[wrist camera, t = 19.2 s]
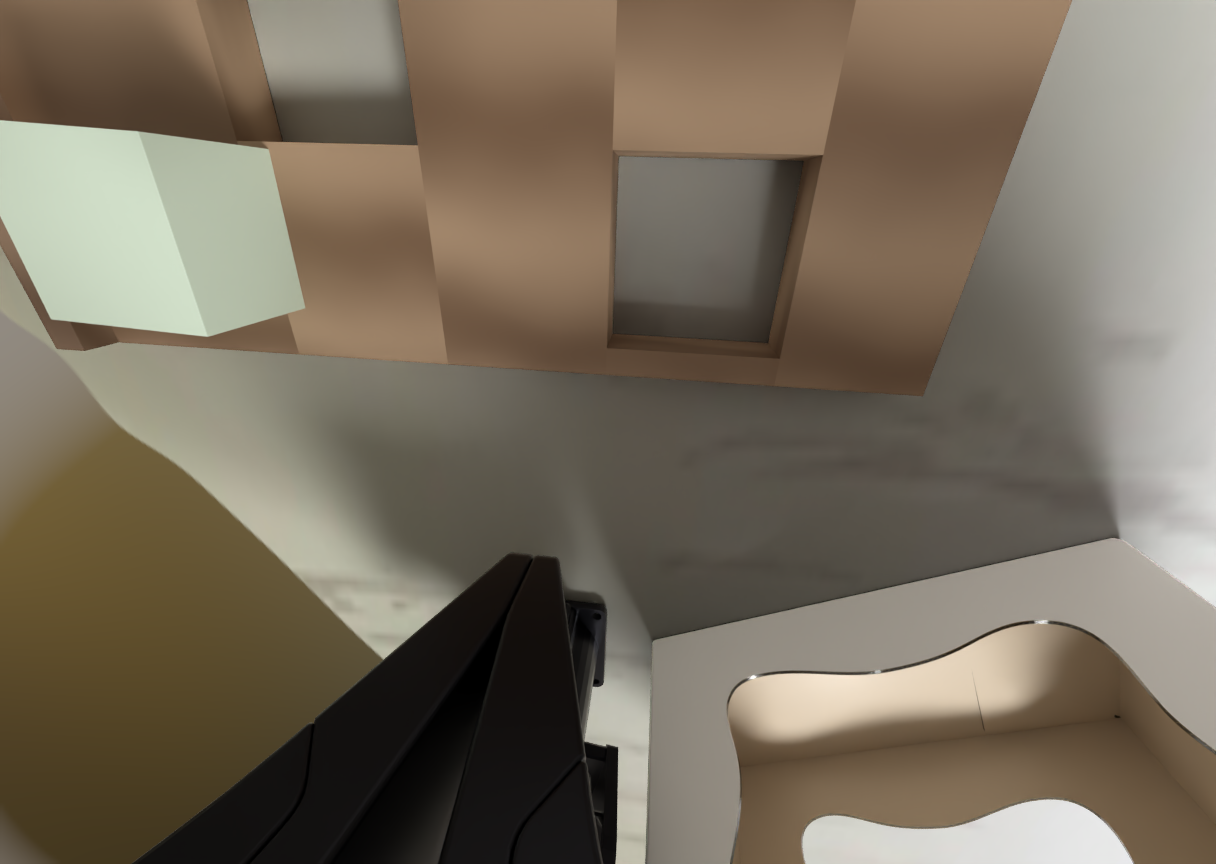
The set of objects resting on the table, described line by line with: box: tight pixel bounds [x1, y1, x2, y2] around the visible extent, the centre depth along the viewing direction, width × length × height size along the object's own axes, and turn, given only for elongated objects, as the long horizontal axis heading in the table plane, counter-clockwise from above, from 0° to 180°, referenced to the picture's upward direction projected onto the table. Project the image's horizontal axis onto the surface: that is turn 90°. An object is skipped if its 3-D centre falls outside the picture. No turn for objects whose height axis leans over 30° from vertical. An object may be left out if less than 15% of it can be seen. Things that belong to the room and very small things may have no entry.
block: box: [0, 120, 305, 337], centre depth 14 cm, size 5×5×4 cm
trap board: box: [0, 0, 1072, 396], centre depth 14 cm, size 14×32×3 cm, turn 88°
